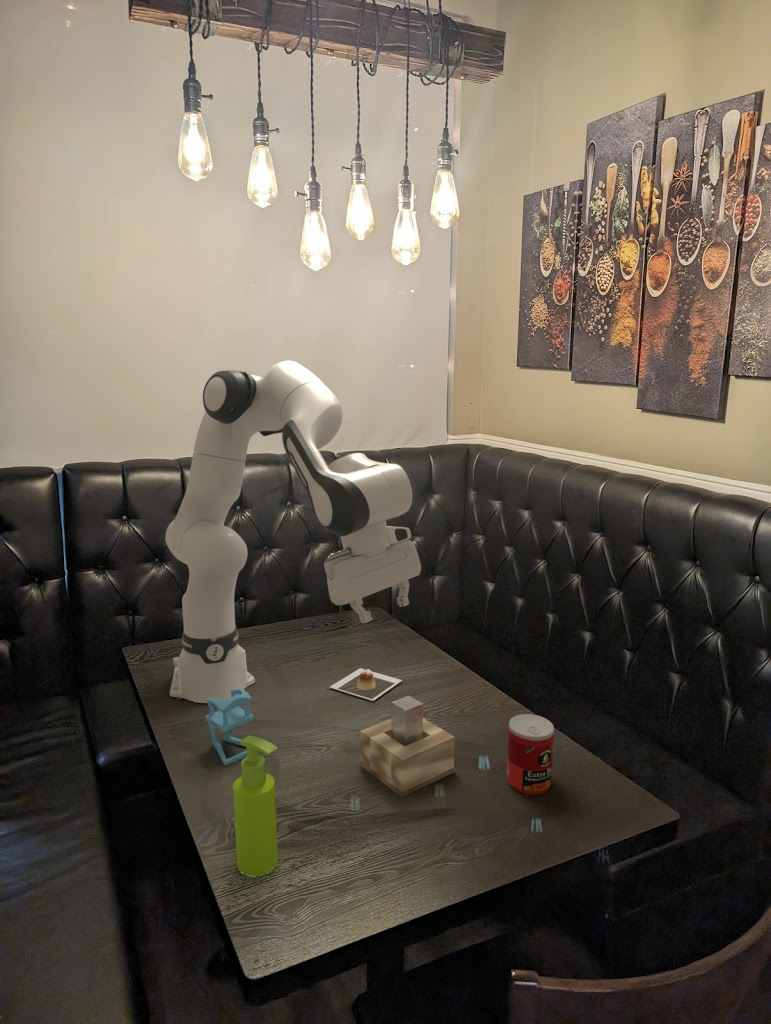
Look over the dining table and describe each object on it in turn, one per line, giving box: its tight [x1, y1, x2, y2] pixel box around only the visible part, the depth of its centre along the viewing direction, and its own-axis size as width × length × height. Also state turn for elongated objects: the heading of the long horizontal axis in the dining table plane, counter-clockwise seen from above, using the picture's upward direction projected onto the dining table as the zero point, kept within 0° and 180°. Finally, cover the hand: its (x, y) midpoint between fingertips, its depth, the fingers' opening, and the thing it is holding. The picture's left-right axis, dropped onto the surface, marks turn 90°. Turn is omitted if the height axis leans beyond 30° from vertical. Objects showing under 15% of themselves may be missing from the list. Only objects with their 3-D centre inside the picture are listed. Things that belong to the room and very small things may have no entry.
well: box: [359, 717, 456, 798], centre depth 126 cm, size 12×12×7 cm
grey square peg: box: [390, 695, 424, 746], centre depth 125 cm, size 4×4×12 cm
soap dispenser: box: [232, 734, 279, 876], centre depth 101 cm, size 6×7×20 cm
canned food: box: [506, 713, 555, 796], centre depth 121 cm, size 8×8×11 cm
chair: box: [205, 689, 255, 766], centre depth 132 cm, size 8×8×12 cm
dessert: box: [329, 667, 403, 702], centre depth 159 cm, size 12×12×5 cm
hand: (385, 613), depth 130 cm, fingers open, 8 cm apart
